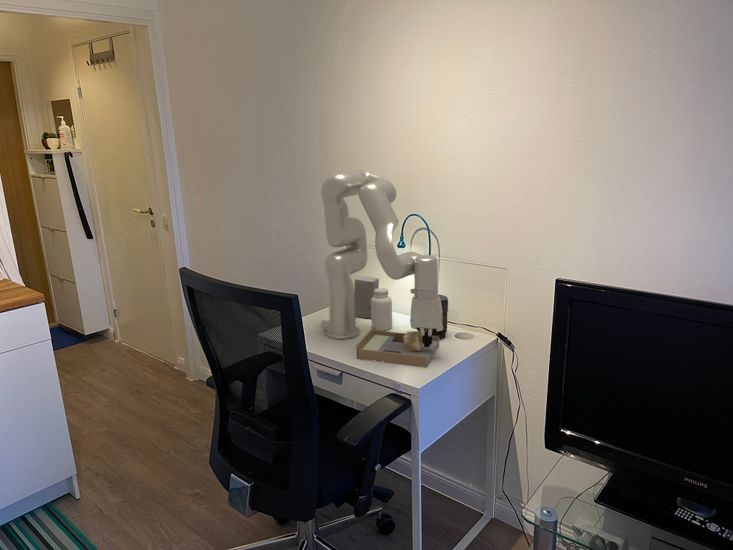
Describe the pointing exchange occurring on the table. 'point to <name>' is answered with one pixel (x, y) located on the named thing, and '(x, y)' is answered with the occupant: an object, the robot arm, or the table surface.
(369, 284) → the skincare box
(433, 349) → the box
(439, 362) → the table surface
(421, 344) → the block
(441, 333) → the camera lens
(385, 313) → the pill bottle
